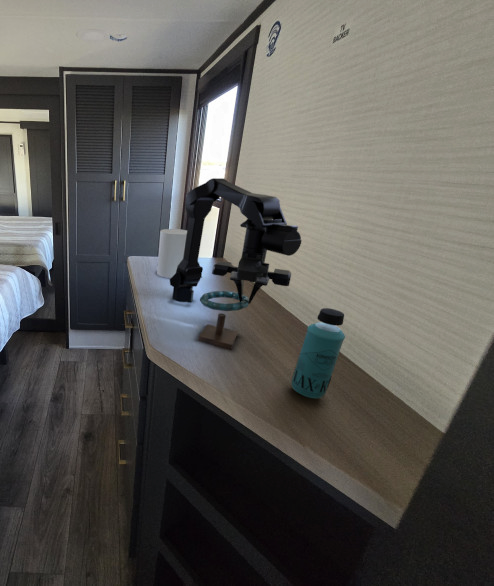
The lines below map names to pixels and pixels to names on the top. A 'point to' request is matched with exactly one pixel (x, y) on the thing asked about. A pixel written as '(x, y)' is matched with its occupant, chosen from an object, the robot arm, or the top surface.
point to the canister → (170, 251)
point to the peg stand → (218, 334)
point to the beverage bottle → (319, 354)
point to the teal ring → (222, 306)
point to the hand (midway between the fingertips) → (244, 302)
